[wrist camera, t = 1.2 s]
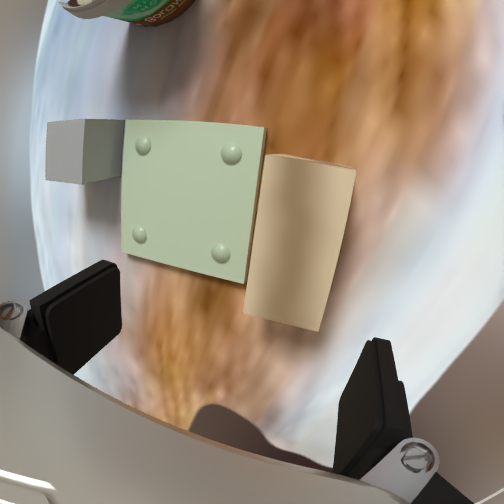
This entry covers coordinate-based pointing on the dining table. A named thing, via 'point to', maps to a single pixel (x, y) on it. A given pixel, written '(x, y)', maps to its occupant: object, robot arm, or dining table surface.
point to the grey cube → (84, 150)
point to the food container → (130, 10)
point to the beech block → (297, 238)
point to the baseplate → (191, 194)
